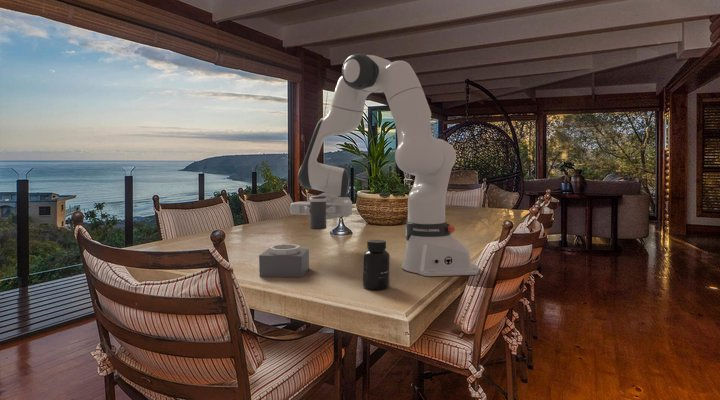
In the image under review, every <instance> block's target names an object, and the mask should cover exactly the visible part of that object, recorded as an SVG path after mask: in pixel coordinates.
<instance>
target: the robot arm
mask: <svg viewBox="0 0 720 400" xmlns="http://www.w3.org/2000/svg"><path fill="white" fill-rule="evenodd" d="M370 94H374V95H381V94H384V95H385V98H386V102H387V104H388V106H389V109H390V114H391V116H392V118H393V121H394V124H395V125H394V126H395V129H396V135H397V137H396V138H397V147H396V150H395V153H394V160H395V163H396V165H397V167H398V169H399V170H401V171H402V172H404V173H406V174H408V175H411V176H415V177H414V182H413V185H412V188H411V189H410V191H409V193H408V196H407V220H406V223H405V239H406V245H405V251H404V252H405V253H404V258H403V261H402V264H401V268H402V269H403V270H405V271H407V272H410V273H414V274H418V275H421V276H423V277H446V276H451V277H452V276H475V275H478V274H479V271H480V270H479V267H478V265H477V264H476V263H474V262H472V258H471V257H472V256H471V253H470V250H469V249H468V247H467V246H466V245H465V244H463V243H462V241H460V240H458V239H457V238H456V237H455V236H453V235H452V233H454V232H455V231H456V227H455V226H454V225H453V224H450V223H448V222H446V203H447V193H448V192H447V190H448V187H449V186H448V185H449V181H450V177H451V173H452V169H453V167H454V165H455V163H456V160H457V151H456V150H455V148H454V146H453V145H452V144H451V143H449V142H447V141H446V140H445V139H442V138H437V137H436V138H434V136H433V133H432V128H431V117H432V111H431V109H430V105H429V103H428V100H427V98H426V94H425V92H424V89H423V87H422V85H421V82H420V80H419V77H418V76H417V74H416V72H415V71H414V69H413V67H412V65H410V63H409V62H407V61H404V60H395V61H393V60H392V59H385V58H383V57H379V56H377V55H373V54H365V53H356V54H355V53H354V54H352V55H349V56H348V57H347V58H345V60H344V62H343V65H342V67H341V76H340V77H339V78H338V80H337V83H336V85H335V88H334V92H333V96H332V100H331V104H330V108H329V111H328V113H326V115H325V116H324V117H321V118H320V119H319V120H318V122H317V124H316V126H315V128H314V131H313V134H312V136H311V139H310V142H309V144H308V147H307V151H306V154H305V155H304V159H303V161H302V164H301V165H300V168H299V170H298V173H297V181H298V183H299V185H300V186H301V187H302V188H303V189H306V190H307V189H308V190H315V191H319V192H320V191H321V192H322V193H320V194H318V195H317V196H326V220H329V219H334V218H341V217H349V216H351V215H353V201H352V200H351V198H350V197H349V196H348V194H349V190H350V185H351V177H350V174H349V172H348V170H347V169H346V168H343V167H340V166H339V167H338V166H334V165H331V164H330V165H329V164H324V163H321V162H318V160H317V159H318V158H319V154H320V152H321V148H322V145H323V143H324V141H325V140H326V139H327V138H330V137H333V136H334V137H335V136H340V135H341V136H342V135H345V134H349V133H351V132H354V131H355V130H356V129H358V128H359V127H360V124H361V121H362V118H363V114H364V111H365V104H366V103H365V102H366V101H367V98H368V96H369V95H370ZM289 214H291V215H301V216H302V215H304V216H305V215H309V216H310V201H296V202H295V201H294V202H291V203H290V206H289ZM475 264H476V265H477V266H476V265H475Z"/></svg>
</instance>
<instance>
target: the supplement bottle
mask: <svg viewBox="0 0 720 400" xmlns="http://www.w3.org/2000/svg"><path fill="white" fill-rule="evenodd" d="M366 249H367V250H366V251H364V253H363V254H362V255H363V257H362V285H363V288H365V289H366V290H369V291H383V290H387V289H388V288H389V287H390V266H391V265H390V264H391V263H390V262H391V260H390V259H391V256H390V253H389V252H388V251H387V250H386V249H387V241H386V240H384V239H369V240H367V243H366Z"/></svg>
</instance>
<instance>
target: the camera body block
mask: <svg viewBox="0 0 720 400" xmlns="http://www.w3.org/2000/svg"><path fill="white" fill-rule="evenodd" d="M258 262H259V263H258V266H259V269H258V271H259V273H258V274H259V277H266V278H268V277H269V278H271V277H272V278H303V277H304V275H305V274H306V272H308V270H309V269H310V248H301V245H298V244H294V243H281V244H280V243H279V244H274V245H270V247H269V248H268V249H267V250H265V251H262V253H261V254H259V255H258Z"/></svg>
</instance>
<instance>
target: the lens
mask: <svg viewBox="0 0 720 400" xmlns="http://www.w3.org/2000/svg"><path fill="white" fill-rule="evenodd" d="M309 202H310V215H309V227H310V228H309V229H310V230H313V231H314V230H315V231H316V230H319V231H320V230H326V229H327V219H326V196H318V195H310V196H309Z"/></svg>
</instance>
